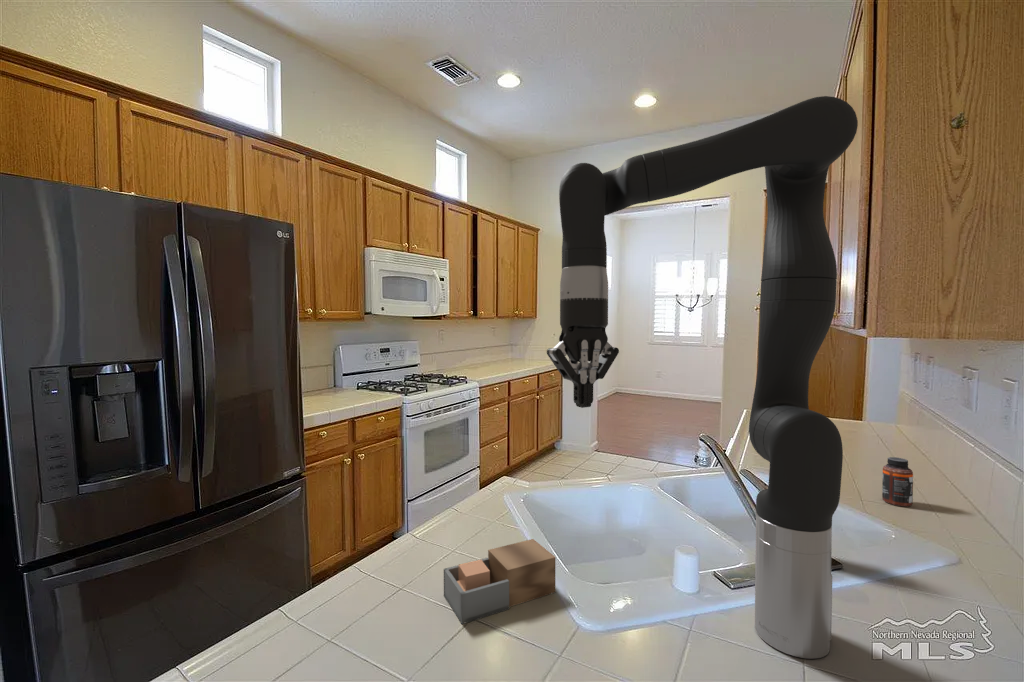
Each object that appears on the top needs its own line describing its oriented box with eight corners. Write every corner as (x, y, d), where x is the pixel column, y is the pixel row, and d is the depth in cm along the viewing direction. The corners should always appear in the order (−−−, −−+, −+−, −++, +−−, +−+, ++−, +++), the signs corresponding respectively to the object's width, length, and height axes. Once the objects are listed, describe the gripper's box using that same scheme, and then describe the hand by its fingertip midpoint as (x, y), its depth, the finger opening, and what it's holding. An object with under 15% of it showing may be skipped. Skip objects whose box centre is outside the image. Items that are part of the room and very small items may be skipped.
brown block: (533, 571, 83) (533, 538, 83) (555, 592, 76) (555, 557, 76) (488, 583, 79) (488, 549, 79) (507, 607, 72) (507, 570, 72)
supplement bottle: (919, 507, 113) (920, 462, 112) (894, 507, 113) (895, 462, 112) (899, 498, 119) (900, 455, 118) (876, 498, 119) (876, 455, 118)
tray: (487, 583, 79) (487, 557, 79) (509, 609, 72) (509, 581, 72) (443, 595, 75) (443, 568, 75) (461, 624, 68) (461, 594, 68)
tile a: (481, 574, 76) (481, 559, 76) (489, 586, 73) (489, 571, 72) (458, 579, 75) (458, 564, 75) (466, 592, 71) (466, 576, 71)
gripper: (562, 294, 65) (561, 414, 66) (632, 297, 71) (631, 407, 72) (535, 297, 72) (535, 406, 72) (602, 300, 78) (601, 400, 78)
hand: (583, 406), depth 72 cm, fingers closed
